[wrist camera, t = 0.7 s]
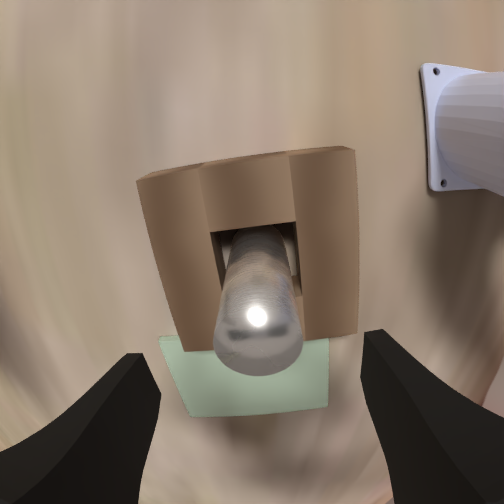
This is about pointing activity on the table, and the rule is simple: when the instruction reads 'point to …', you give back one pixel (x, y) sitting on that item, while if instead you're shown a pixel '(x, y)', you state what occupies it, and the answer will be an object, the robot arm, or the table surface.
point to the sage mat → (247, 382)
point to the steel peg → (258, 306)
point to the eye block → (256, 214)
